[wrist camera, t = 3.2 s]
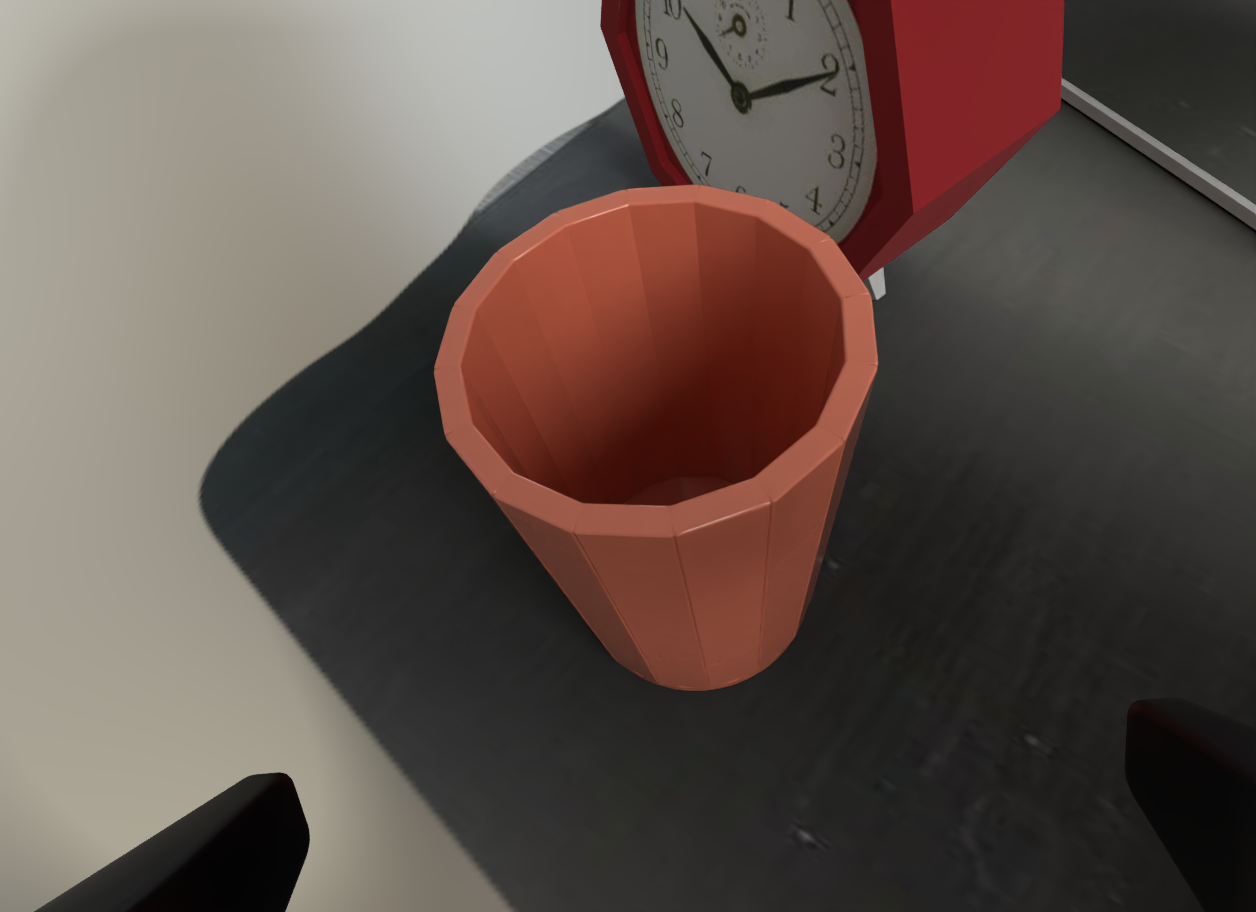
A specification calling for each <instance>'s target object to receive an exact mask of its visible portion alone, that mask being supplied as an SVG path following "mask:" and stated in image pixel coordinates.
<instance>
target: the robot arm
mask: <svg viewBox="0 0 1256 912" xmlns="http://www.w3.org/2000/svg"><path fill="white" fill-rule="evenodd" d="M1125 774H1126V779H1127V782H1128V785H1129V788H1130V790H1131V792H1132V794H1133V796H1134V798H1135V800H1136V801H1137V803H1138V805H1139V806H1140V808H1141V809H1142V811H1143V813H1144V814H1145V816H1146V817H1147V819H1148V821H1149V822H1150V824H1151V825H1152V827H1153V829H1154V830H1155V832H1156V834H1157V835H1158V837H1159V838H1160V840H1161V842H1162V843H1163V845H1164V846H1165V848H1166V850H1167V851H1168V853H1169V855H1170V856H1171V858H1172V859H1173V861H1174V863H1175V864H1176V866H1177V867H1178V869H1179V871H1180V872H1181V874H1182V875H1183V877H1184V879H1185V880H1186V882H1187V884H1188V885H1189V887H1190V888H1191V890H1192V892H1193V893H1194V895H1195V896H1196V898H1197V900H1198V901H1199V903H1200V904H1201V906H1202V908H1203V909H1204V911H1205V912H1256V728H1254V727H1251V726H1249V725H1247V724H1244V723H1242V722H1239V721H1237V720H1234V719H1232V718H1229V717H1227V716H1224V715H1222V714H1219V713H1217V712H1214V711H1212V710H1209V709H1207V708H1204V707H1202V706H1199V705H1197V704H1194V703H1192V702H1189V701H1187V700H1184V699H1181V698H1160V699H1148V700H1139V701H1136V702H1134V703H1133V704H1132V705H1131V706H1130V708H1129V710H1128V715H1127V733H1126V752H1125ZM309 841H310V835H309V828H308V824H307V821H306V818H305V815H304V813H303V810H302V806H301V804H300V800H299V798H298V794H297V792H296V789H295V786H294V783H293V781H292V779H291V778H290V777H289V776H288V775H287V774H284V773H268V774H257V775H251V776H248V777H246V778H244V779H243V780H241V781H239V782H238V783H236V784H235V785H233V786H232V787H230V788H228V789H227V790H226V791H224V792H222V793H221V794H219V795H217V796H216V797H214V798H213V799H211V800H210V801H208V802H206V803H205V804H203V805H202V806H200V807H198V808H197V809H195V810H194V811H192V812H191V813H189V814H187V815H186V816H184V817H183V818H181V819H180V820H178V821H176V822H175V823H173V824H172V825H170V826H169V827H167V828H165V829H164V830H162V831H161V832H159V833H157V834H156V835H154V836H153V837H151V838H150V839H148V840H146V841H145V842H143V843H142V844H140V845H139V846H137V847H136V848H134V849H132V850H131V851H129V852H128V853H126V854H125V855H123V856H121V857H120V858H118V859H116V860H115V861H113V862H112V863H110V864H109V865H107V866H105V867H104V868H102V869H101V870H99V871H98V872H96V873H94V874H93V875H91V876H90V877H88V878H86V879H85V880H83V881H82V882H80V883H79V884H77V885H76V886H74V887H72V888H71V889H69V890H68V891H66V892H64V893H63V894H61V895H60V896H58V897H56V898H55V899H53V900H52V901H50V902H49V903H47V904H46V905H44V906H42V907H41V908H39V909H38V910H36V911H34V912H285V911H286V909H287V906H288V903H289V901H290V898H291V895H292V893H293V890H294V887H295V885H296V882H297V880H298V877H299V874H300V872H301V869H302V867H303V864H304V861H305V859H306V856H307V853H308V848H309Z"/></svg>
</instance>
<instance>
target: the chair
mask: <svg viewBox="0 0 1256 912" xmlns="http://www.w3.org/2000/svg"><path fill="white" fill-rule="evenodd" d="M1061 98H1062V99H1064V100H1065V101H1067V102H1068V103H1070V104H1071V105H1073V106H1074V107H1076V108H1077V109H1079V110H1080V111H1081V112H1083V113H1084V114H1086V115H1087V116H1089V117H1090V118H1092V119H1093V120H1095V121H1096V122H1098V123H1099V124H1101V125H1102V126H1104V127H1105V128H1107V129H1108V130H1110V131H1111V132H1112V133H1114V134H1115V135H1117V136H1118V137H1120V138H1121V139H1123V140H1124V141H1126V142H1127V143H1129V144H1130V145H1132V146H1133V147H1135V148H1136V149H1138V150H1139V151H1140V152H1142V153H1143V154H1145V155H1146V156H1148V157H1149V158H1151V159H1152V160H1154V161H1155V162H1157V163H1158V164H1160V165H1161V166H1163V167H1164V168H1166V169H1167V170H1168V171H1170V172H1171V173H1173V174H1174V175H1176V176H1177V177H1179V178H1180V179H1182V180H1183V181H1185V182H1186V183H1188V184H1189V185H1191V186H1192V187H1194V188H1195V189H1196V190H1198V191H1199V192H1201V193H1202V194H1204V195H1205V196H1207V197H1208V198H1210V199H1211V200H1213V201H1214V202H1216V203H1217V204H1219V205H1220V206H1221V207H1223V208H1224V209H1226V210H1227V211H1229V212H1230V213H1232V214H1233V215H1235V216H1236V217H1237V218H1239V219H1240V220H1242V221H1243V222H1245V223H1246V224H1248V225H1249V226H1250V227H1252V228H1253V229H1255V230H1256V205H1255V204H1253V203H1252V202H1250V201H1249V200H1247V199H1246V198H1244V197H1243V196H1241V195H1240V194H1238V193H1237V192H1235V191H1234V190H1232V189H1231V188H1229V187H1228V186H1226V185H1225V184H1223V183H1222V182H1220V181H1219V180H1217V179H1216V178H1214V177H1213V176H1211V175H1210V174H1208V173H1206V172H1205V171H1203V170H1202V169H1200V168H1199V167H1197V166H1196V165H1194V164H1193V163H1191V162H1190V161H1188V160H1187V159H1185V158H1184V157H1182V156H1181V155H1179V154H1178V153H1176V152H1175V151H1173V150H1171V149H1170V148H1168V147H1167V146H1165V145H1164V144H1162V143H1161V142H1159V141H1158V140H1156V139H1155V138H1153V137H1152V136H1150V135H1149V134H1147V133H1146V132H1144V131H1143V130H1141V129H1139V128H1138V127H1136V126H1135V125H1133V124H1132V123H1130V122H1129V121H1127V120H1126V119H1124V118H1123V117H1121V116H1120V115H1118V114H1117V113H1115V112H1114V111H1112V110H1111V109H1109V108H1107V107H1106V106H1104V105H1103V104H1101V103H1100V102H1098V101H1097V100H1095V99H1094V98H1092V97H1091V96H1089V95H1088V94H1086V93H1085V92H1083V91H1082V90H1080V89H1078V88H1077V87H1075V86H1074V85H1072V84H1071V83H1069V82H1068V81H1066V80H1065V79H1063V78H1062V82H1061Z"/></svg>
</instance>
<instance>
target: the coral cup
mask: <svg viewBox="0 0 1256 912" xmlns="http://www.w3.org/2000/svg"><path fill="white" fill-rule="evenodd" d="M877 367H878V354H877V344H876V334H875V324H874V314H873V304H872V297H871V295H870V292H869V290H868V289H867V288H866V286H865V285H864V283H863V282H862V280H861V279H860V277H859V276H858V274H857V273H856V272H855V270H854V269H853V267H852V266H851V264H850V263H849V261H848V260H847V258H846V257H845V256H844V254H843V253H842V251H841V250H840V248H839V247H838V245H837V244H836V243H835V241H834V240H833V239H832V238H830V236H829V235H828V234H826V233H824V232H823V231H821V230H820V229H818V228H816V227H815V226H813V225H811V224H810V223H808V222H807V221H805V220H803V219H802V218H800V217H798V216H797V215H795V214H793V213H792V212H790V211H789V210H787V209H785V208H784V207H782V206H780V205H779V204H777V203H775V202H774V201H771V202H770V200H769V199H765V198H760V197H756V196H751V195H747V194H742V193H738V192H733V191H729V190H724V189H720V188H715V187H710V186H706V185H700V186H699V185H697V184H695V185H679V186H662V187H645V188H629V189H627V190H621V191H618V192H615V193H611V194H608V195H605V196H602V197H599V198H596V199H593V200H590V201H587V202H584V203H581V204H578V205H575V206H572V207H569V208H566V209H563V210H560V211H558V212H557V213H553V214H552V215H550V216H549V217H547V218H546V219H544V220H543V221H541V222H540V223H538V224H537V225H535V226H534V227H532V228H531V229H529V230H528V231H526V232H525V233H523V234H522V235H520V236H519V237H517V238H516V239H514V240H513V241H511V242H510V243H508V244H507V245H505V246H504V247H502V248H501V249H499V250H498V251H497V253H495V254H494V255H493V256H492V257H491V259H490V260H489V261H488V262H487V264H486V265H485V266H484V267H483V269H482V270H481V271H480V272H479V274H478V275H477V276H476V277H475V279H474V280H473V281H472V282H471V284H470V285H469V286H468V287H467V289H466V290H465V291H464V292H463V294H462V295H461V296H460V297H459V299H458V300H457V301H456V302H455V304H454V307H453V308H452V310H451V313H450V317H449V320H448V323H447V327H446V330H445V333H444V336H443V340H442V343H441V346H440V350H439V353H438V356H437V359H436V363H435V366H434V369H435V370H434V377H435V383H436V389H437V394H438V400H439V406H440V412H441V418H442V423H443V429H444V435H445V436H446V439H447V441H448V443H449V444H450V445H451V447H452V448H453V449H454V451H455V452H456V453H457V455H458V456H459V457H460V458H461V460H462V461H463V462H464V464H465V465H466V466H467V468H468V469H469V470H470V472H471V473H472V474H473V476H474V477H475V478H476V480H477V481H478V482H479V484H480V485H481V486H482V487H483V489H484V490H485V491H486V493H487V494H488V495H489V497H490V498H491V499H492V501H493V502H494V503H495V505H496V506H497V507H498V509H499V510H500V511H501V513H502V514H503V515H504V516H505V518H506V519H507V520H508V522H509V523H510V524H511V526H512V527H513V528H514V530H515V531H516V532H517V534H518V535H519V536H520V538H521V539H522V540H523V542H524V543H525V544H526V545H527V547H528V548H529V549H530V551H531V552H532V553H533V555H534V556H535V557H536V559H537V560H538V561H539V563H540V564H541V565H542V567H543V568H544V569H545V570H546V572H547V573H548V574H549V576H550V577H551V578H552V580H553V581H554V582H555V584H556V585H557V586H558V588H559V589H560V590H561V592H562V593H563V594H564V596H565V597H566V598H567V599H568V601H569V602H570V603H571V605H572V606H573V607H574V609H575V610H576V611H577V613H578V614H579V615H580V617H581V618H582V619H583V621H584V622H585V623H586V625H587V626H588V627H589V628H590V630H591V631H592V632H593V633H594V635H595V636H596V637H597V638H598V640H599V641H600V642H601V644H602V645H603V646H604V647H605V649H606V650H607V651H608V652H609V654H610V655H611V656H612V657H613V659H614V660H615V661H617V662H618V663H619V664H621V665H623V666H624V667H625V668H626V669H628V670H630V671H631V672H633V673H634V674H636V675H638V676H639V677H641V678H643V679H645V680H648V681H650V682H652V683H654V684H658V685H661V686H665V687H668V688H673V689H679V690H687V691H704V690H712V689H719V688H723V687H727V686H730V685H734V684H737V683H739V682H741V681H744V680H746V679H748V678H750V677H752V676H754V675H755V674H757V673H759V672H760V671H762V670H764V669H765V668H766V667H767V666H769V665H770V664H771V663H772V662H774V661H775V660H776V659H777V658H778V657H779V656H780V655H781V654H782V653H783V651H784V650H785V649H786V648H787V647H788V645H789V644H790V643H791V641H792V640H793V639H794V637H795V636H796V634H797V632H798V629H799V627H800V625H801V623H802V621H803V619H804V616H805V613H806V610H807V608H808V605H809V603H810V600H811V598H812V595H813V592H814V588H815V585H816V582H817V578H818V575H819V571H820V568H821V564H822V561H823V557H824V554H825V550H826V547H827V543H828V540H829V536H830V533H831V529H832V526H833V523H834V519H835V516H836V512H837V509H838V505H839V502H840V498H841V495H842V491H843V488H844V484H845V481H846V477H847V474H848V470H849V467H850V463H851V460H852V457H853V453H854V450H855V446H856V443H857V439H858V436H859V432H860V429H861V425H862V422H863V418H864V415H865V411H866V408H867V404H868V401H869V398H870V394H871V391H872V387H873V384H874V380H875V377H876V373H877Z"/></svg>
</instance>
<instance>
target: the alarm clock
mask: <svg viewBox="0 0 1256 912" xmlns="http://www.w3.org/2000/svg"><path fill="white" fill-rule="evenodd" d="M600 27H601V30H602V32H603V35H604V38H605V41H606V44H607V47H608V50H609V52H610V55H611V58H612V61H613V64H614V66H615V69H616V72H617V75H618V78H619V80H620V83H621V86H622V89H623V92H624V95H625V98H626V100H627V103H628V106H629V109H630V112H631V115H632V117H633V120H634V123H635V126H636V129H637V132H638V134H639V137H640V140H641V143H642V146H643V148H644V151H645V154H646V157H647V160H648V163H649V165H650V168H651V171H652V173H653V174H654V175H655V177H656V178H657V179H658V180H659V182H660V183H661V184H662V185H663V186H679V185H695V184H697V185H699V186H700V185H706V186H710V187H715V188H720V189H724V190H729V191H733V192H738V193H742V194H747V195H751V196H756V197H760V198H765V199H769V200H770V202H771V201H774V202H775V203H777V204H779V205H780V206H782V207H784V208H785V209H787V210H789V211H790V212H792V213H793V214H795V215H797V216H798V217H800V218H802V219H803V220H805V221H807V222H808V223H810V224H811V225H813V226H815V227H816V228H818V229H820V230H821V231H823V232H824V233H826V234H828V235H829V236H830V238H832V239H833V240H834V241H835V243H836V244H837V245H838V247H839V248H840V250H841V251H842V253H843V254H844V256H845V257H846V258H847V260H848V261H849V263H850V264H851V266H852V267H853V269H854V270H855V272H856V273H857V274H858V276H859V277H860V279H861V280H862V282H863V283H864V285H865V286H866V288H867V289H868V290H869V292H870V295H871V297H872V300H878V299H879V298H881V297H882V296H883V295H885V282H884V269H883V267H884V266H885V265H887V264H888V263H889V262H891V261H892V260H893V259H895V258H896V257H898V256H899V255H900V254H902V253H903V252H904V251H906V250H907V249H909V248H910V247H911V246H913V245H914V244H916V243H917V242H918V241H920V240H921V239H922V238H924V237H925V236H927V235H928V234H929V233H931V232H932V231H933V230H935V229H936V228H938V227H939V226H940V225H942V224H943V223H944V222H946V221H947V220H949V219H950V218H951V217H952V216H953V215H954V214H955V213H956V212H957V211H958V210H959V209H960V208H961V207H962V206H963V205H964V204H965V203H966V202H967V201H968V200H969V199H970V198H971V197H972V196H973V195H974V194H975V193H976V192H977V191H978V190H979V189H980V188H981V187H982V186H983V185H984V184H985V183H986V182H987V181H988V180H989V179H990V178H991V177H992V176H993V175H994V174H995V173H996V172H997V171H998V170H999V169H1000V168H1001V167H1002V166H1003V165H1004V164H1005V163H1006V162H1007V161H1008V160H1009V159H1010V158H1011V157H1012V156H1013V155H1014V154H1016V153H1017V152H1018V151H1019V150H1020V149H1021V148H1022V147H1023V146H1024V145H1025V144H1026V143H1027V142H1028V141H1029V140H1030V139H1031V138H1032V137H1033V136H1034V135H1035V134H1036V133H1037V132H1038V131H1039V130H1040V129H1041V128H1042V127H1043V126H1044V125H1045V124H1046V123H1047V122H1048V121H1049V120H1050V119H1051V118H1052V117H1053V116H1054V115H1055V114H1056V113H1057V112H1058V111H1059V110H1060V109H1061V82H1062V55H1063V27H1064V0H602V7H601V26H600Z"/></svg>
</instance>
